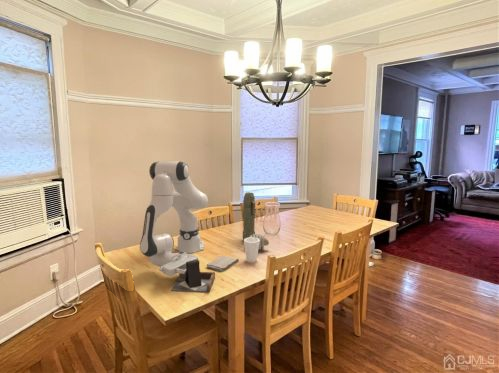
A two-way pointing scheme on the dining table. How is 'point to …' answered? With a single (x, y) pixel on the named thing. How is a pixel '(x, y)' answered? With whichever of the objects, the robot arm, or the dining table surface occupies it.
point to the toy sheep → (262, 241)
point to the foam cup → (251, 248)
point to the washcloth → (222, 263)
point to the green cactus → (248, 215)
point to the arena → (206, 282)
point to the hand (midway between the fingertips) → (191, 268)
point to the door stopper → (193, 274)
